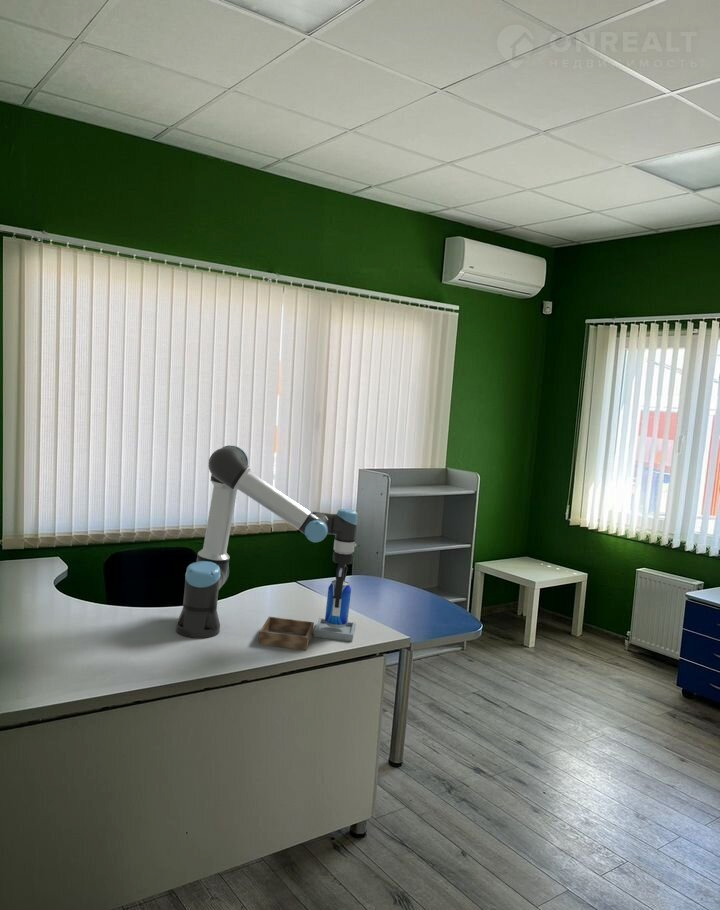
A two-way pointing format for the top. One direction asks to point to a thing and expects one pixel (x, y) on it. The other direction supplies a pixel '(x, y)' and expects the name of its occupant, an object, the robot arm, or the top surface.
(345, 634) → the tray
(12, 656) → the top surface
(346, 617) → the beer can
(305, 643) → the crate
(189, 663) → the top surface
